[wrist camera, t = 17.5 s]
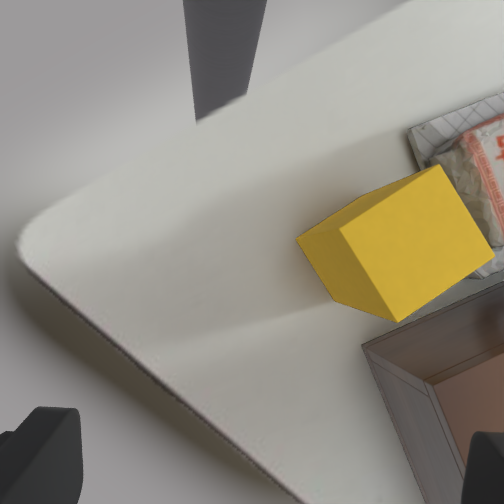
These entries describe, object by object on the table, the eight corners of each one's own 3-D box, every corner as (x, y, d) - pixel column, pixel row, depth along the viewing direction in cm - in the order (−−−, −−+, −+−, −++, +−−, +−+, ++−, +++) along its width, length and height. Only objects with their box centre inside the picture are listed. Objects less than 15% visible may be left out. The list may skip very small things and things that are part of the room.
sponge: (294, 238, 26) (338, 228, 17) (362, 195, 27) (439, 163, 18) (334, 301, 27) (397, 323, 18) (401, 257, 27) (496, 256, 18)
